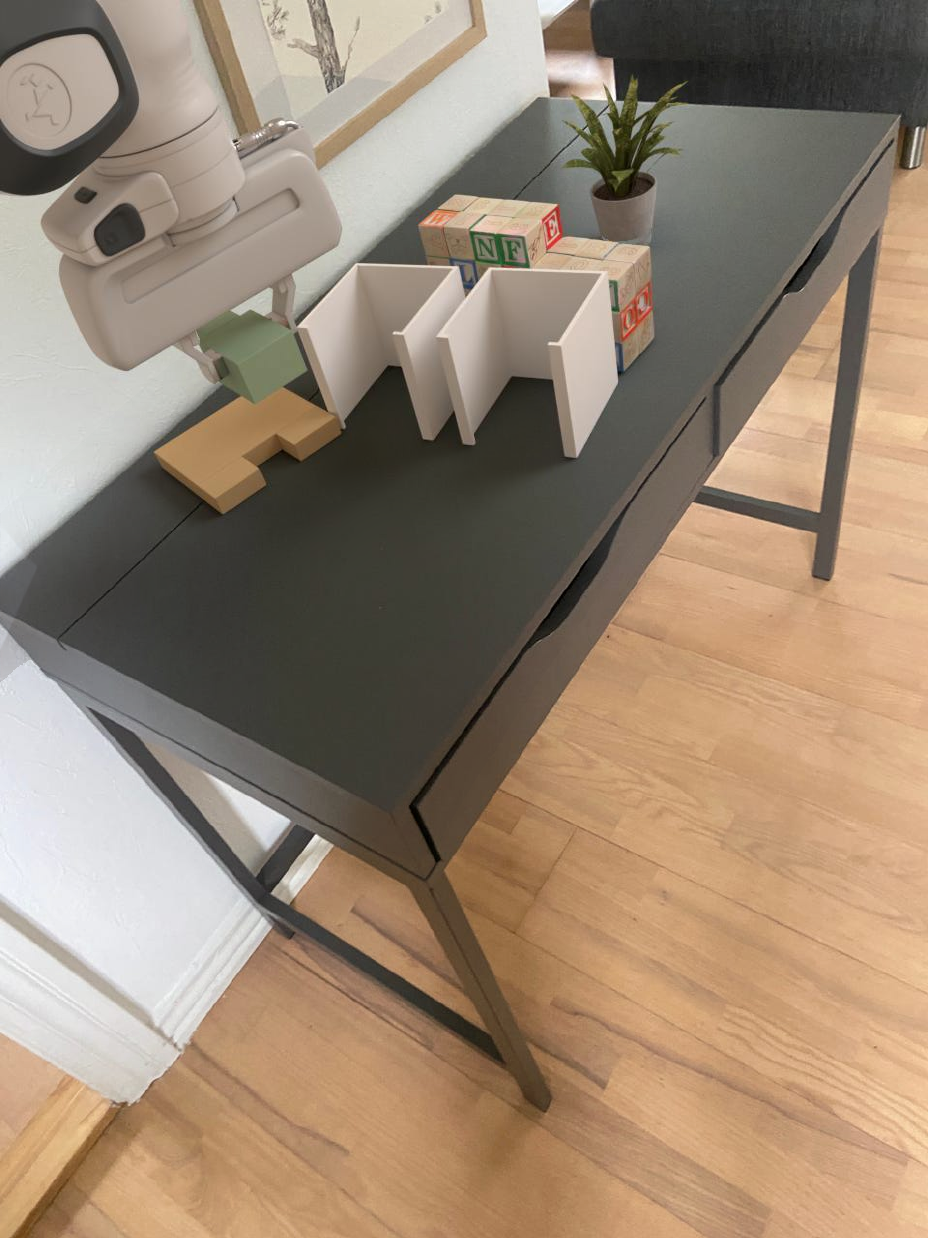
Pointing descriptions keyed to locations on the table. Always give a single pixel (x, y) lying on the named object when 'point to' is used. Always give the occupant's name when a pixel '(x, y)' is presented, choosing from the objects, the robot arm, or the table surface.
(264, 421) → the sand pad
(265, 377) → the sage block
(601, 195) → the house plant
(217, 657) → the table surface
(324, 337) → the open dividers
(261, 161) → the robot arm
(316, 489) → the table surface
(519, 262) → the stack of blocks
